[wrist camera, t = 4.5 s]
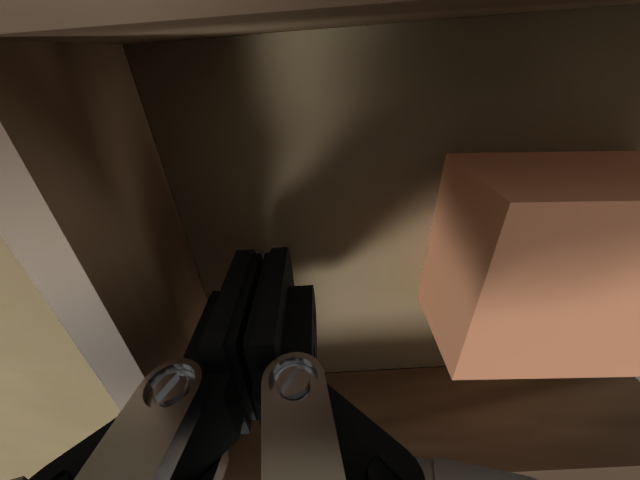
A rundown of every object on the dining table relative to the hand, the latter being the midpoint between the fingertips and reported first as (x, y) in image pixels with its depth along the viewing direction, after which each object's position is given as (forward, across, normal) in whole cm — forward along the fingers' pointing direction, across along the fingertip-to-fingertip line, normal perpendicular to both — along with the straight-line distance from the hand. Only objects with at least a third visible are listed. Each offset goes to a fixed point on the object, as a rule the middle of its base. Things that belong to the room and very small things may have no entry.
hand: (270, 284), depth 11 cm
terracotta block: (+2, -9, 0) cm, 9 cm away
